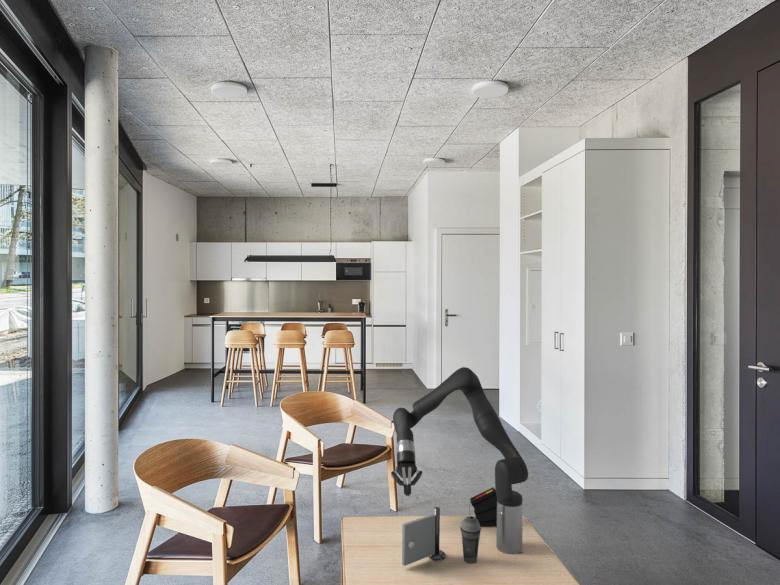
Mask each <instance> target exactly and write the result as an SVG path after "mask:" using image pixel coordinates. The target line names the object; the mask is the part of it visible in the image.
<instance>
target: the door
mask: <svg viewBox="0 0 780 585" xmlns="http://www.w3.org/2000/svg"><path fill="white" fill-rule="evenodd" d="M401 525H402V526H401V527H402V532H401V533H402V535H401V537H402V538H401V539H402V541H401V547H402V548H401V565H402V566H404V567H406V566H408V565H411V564H413V563H416V562H418V561H421V560H423V559H426V558H429V557H428V556H431V555H434V554H435V515H434V513H432V514H429V515H426V516H423V517H419V518H417V519H414V520H410V521H408V522H405V523H402V524H401Z"/></svg>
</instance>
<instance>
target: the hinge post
mask: <svg viewBox="0 0 780 585" xmlns="http://www.w3.org/2000/svg"><path fill="white" fill-rule="evenodd" d="M433 514H434V515H435V554H434V555H431V556H428V557H427V558H428V559H430V560H432V561H437V562H438V561H442V560H444V559H445V558H446V553H445V551H443V550H441V549H440V544H441V542H440V540H441V539H440V534H441V531H440V530H441V529H440V528H441V527H440V526H441V525H440V524H441V521H440V520H441V517H440V516H441V508H440V507H439V506H435V507H434V508H433Z"/></svg>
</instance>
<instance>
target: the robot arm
mask: <svg viewBox="0 0 780 585" xmlns="http://www.w3.org/2000/svg"><path fill="white" fill-rule="evenodd" d="M457 390H460V391H461V392H462V393H463V394H464V396H465V398H466V400H467V401H468V403H469V404H470V407H471V413H472V417H473V420H474V423H475V426H476V428H477V429H478V432H479V434H480V435H481V437H483V439H485V441H487V442H488V443H489V444H490V445H492V446H493V447H494V448H496V449H497V450H498V451H499V452H500V453H501V455H502V456H503V457H504V458H503V459H499V460H497V461H496V463H495V467H494V484H495V487H494V489H495V490H496V495H497V527H496V537H495V538H496V541H495V543H496V544H495V546H496V549H497V550H498V551H499V552H502V553H504V554H518V553H523V532H524V531H523V529H524V528H523V495H522V494H521V493H520V492H518V491H515V490H513V487H512V486H513V485H516V484H517V485H518V484H521V483H525V482H527V480H528V478H529V470H528V467H527V464H526V463H525V460H524V459H523V457H522V456H521V454H520V452H519V451H518V450H517V448H516V447H515V445H514V443H513V442H512V440H511V439H510V437H509V434H508V433H507V431H506V429H505V428H504V426H503V424H502V422H501V419H500V417H499V415H498V414H497V412H496V411H495V409H494V407H493V405H492V404H491V403H490V401H489V400H488V398H487V396H486V394H485V391H484V389H483V386H482V384H481V381H480V379H479V377H478V375H477V374H476V373H475V372H474V371H473V370H472V369H471V368H469V367H466V366H465V367H464V366H462V367H460V368H458V369H456V370H455V371H454V372H453V373H452V374H450V375H449V376H448V377H447V378H446V379H444V380H443V381H442V382H441V383H440V384H439V385H438V386H437V387H435V388H433V390H431V391H430V392H429V393H427V394H425V395H424V396H423V397H421V398H419V399H417V400H416V401H414V402H413V404H412V408H413V410H412V411H409V410H408V409H406V408H405V407H398V408H396V409H395V410H394V412H393V415H392V422H393V428H394V431H395V434H396V452H395V453H396V467H395V470H393V471H391V472H390V474H391V475H390V476H391V477H392V478H393V480H394V481H395V482H396V483H397V484H398V485H399V486H400V487H401V486H402V487H403V494H404V495H405V497H410V495H411V494H412V486H415V485H416V484H417V483H418V481H419V480H420V479H421V478H422V476H423V471H422V470H419V469H418V466H417V464H416V450H415V448H416V447H415V442H414V432H413V431H412V428H414V427H416V425H418V423H419V422H420V421H421V420H422V419H423V418H424V417H425V416H426V415H428V414H430V413H431V412H433V411H434V410H436V409H437V408H438V407H439V406H440V405H441V404H442V403H443V401H444V400H445V399H446V398H447V397H448V396H449V395H450V394H451V393H453V392H455V391H457ZM414 475H415V477H414ZM413 477H414V478H413Z"/></svg>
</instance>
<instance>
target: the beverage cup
mask: <svg viewBox="0 0 780 585" xmlns="http://www.w3.org/2000/svg"><path fill="white" fill-rule="evenodd" d="M459 528H460V532H461V542H462V554H463V555H462V556H463V562H464V563H466V564H469V565H474V564H477V562H478V561H477V560H478V555H479V554H478V553H479V543H480V536H481V533H482V532H481V531H482V527H481V526H480V523H479V521H478V520H477V519H476V516H471V502H470V503H469V502H468V516H466V517H464V518H463V520H461V524H460V527H459Z"/></svg>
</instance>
